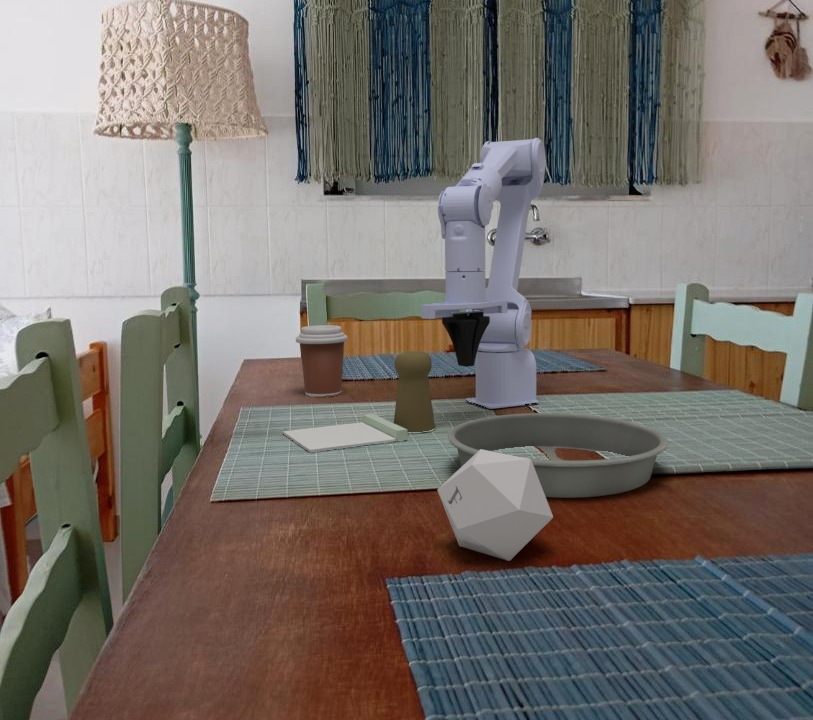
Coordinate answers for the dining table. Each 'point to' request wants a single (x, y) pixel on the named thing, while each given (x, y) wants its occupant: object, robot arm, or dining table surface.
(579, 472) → the cake pan
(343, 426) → the mat
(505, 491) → the die
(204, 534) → the dining table surface
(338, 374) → the coffee cup
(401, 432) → the kerb
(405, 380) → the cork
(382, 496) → the dining table surface
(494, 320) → the robot arm
